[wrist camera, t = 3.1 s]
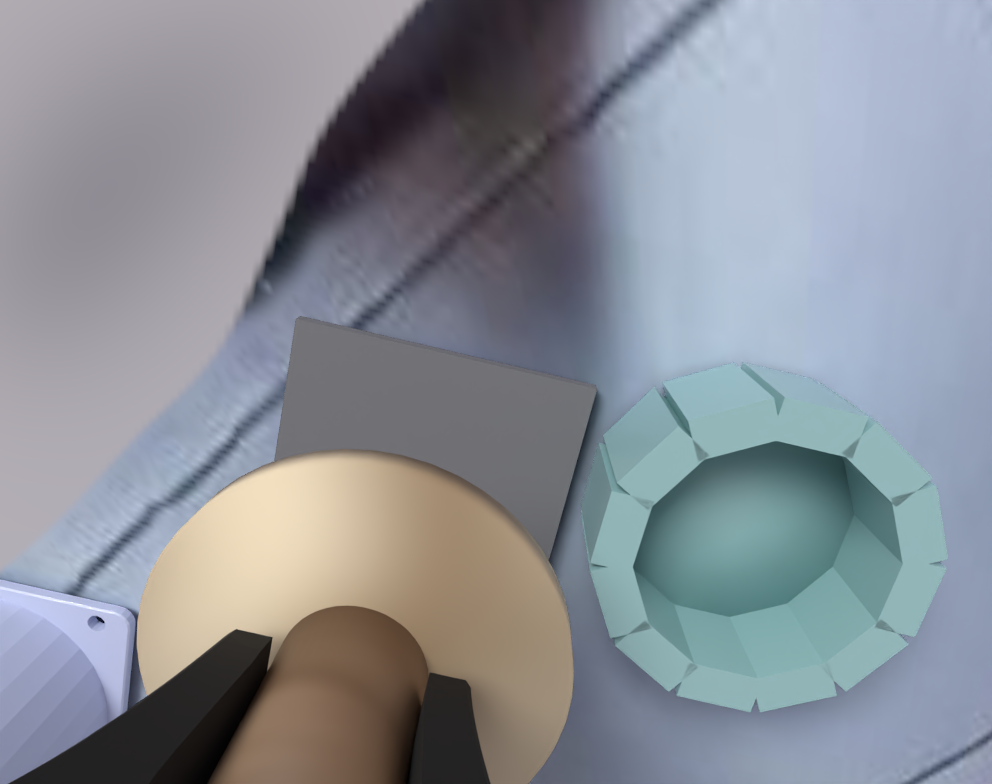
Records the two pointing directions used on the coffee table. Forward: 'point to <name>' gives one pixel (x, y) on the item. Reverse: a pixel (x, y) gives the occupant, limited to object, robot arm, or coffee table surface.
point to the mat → (438, 415)
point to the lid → (364, 617)
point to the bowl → (759, 538)
